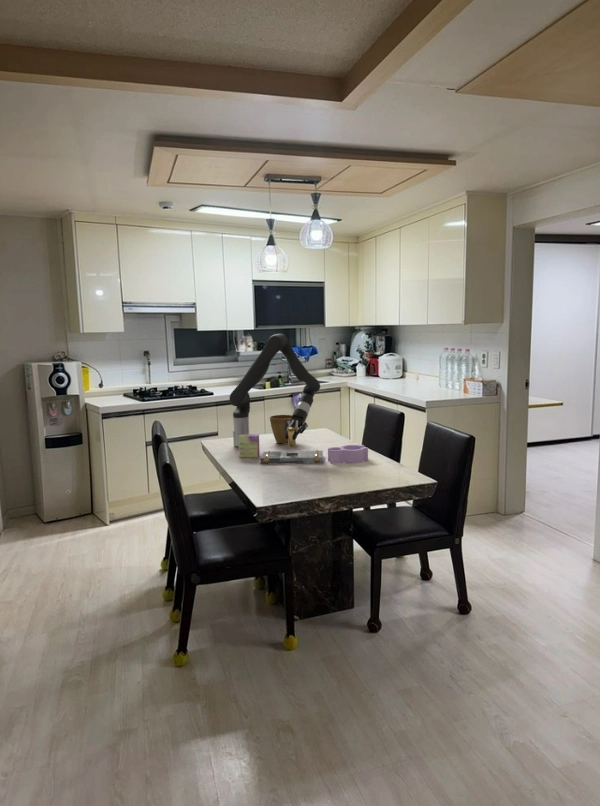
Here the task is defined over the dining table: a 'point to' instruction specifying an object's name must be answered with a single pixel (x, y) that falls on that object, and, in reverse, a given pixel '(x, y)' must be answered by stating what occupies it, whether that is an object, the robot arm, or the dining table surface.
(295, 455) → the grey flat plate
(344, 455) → the purple cup holder
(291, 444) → the master link pin
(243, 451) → the box
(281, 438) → the plant pot
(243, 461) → the dining table surface
